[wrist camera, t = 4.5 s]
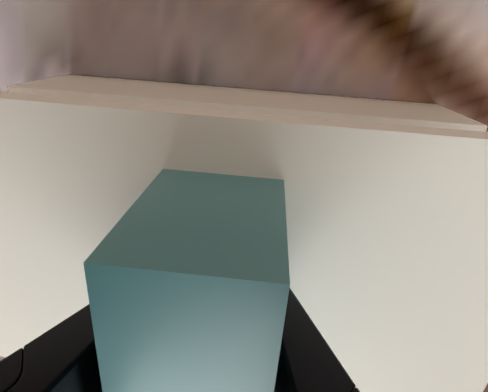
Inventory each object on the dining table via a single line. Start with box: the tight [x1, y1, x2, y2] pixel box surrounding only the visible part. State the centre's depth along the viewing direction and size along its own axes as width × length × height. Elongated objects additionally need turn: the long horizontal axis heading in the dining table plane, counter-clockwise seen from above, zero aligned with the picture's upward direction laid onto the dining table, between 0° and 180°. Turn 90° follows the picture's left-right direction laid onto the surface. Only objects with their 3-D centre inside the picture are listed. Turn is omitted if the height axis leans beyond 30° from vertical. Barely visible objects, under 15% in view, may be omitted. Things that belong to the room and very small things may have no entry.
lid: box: [0, 92, 488, 392], centre depth 9 cm, size 17×9×5 cm, turn 87°
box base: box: [7, 75, 487, 132], centre depth 15 cm, size 16×8×4 cm, turn 87°
